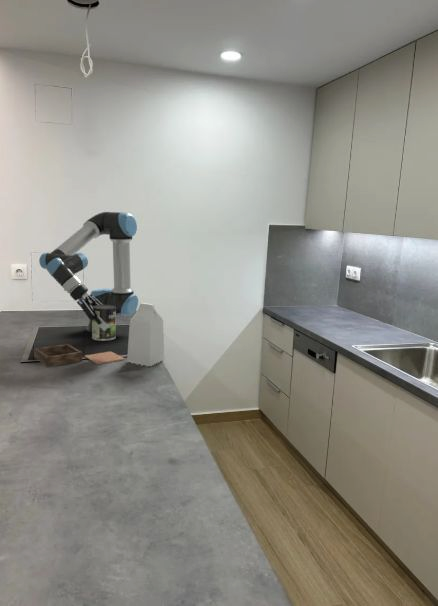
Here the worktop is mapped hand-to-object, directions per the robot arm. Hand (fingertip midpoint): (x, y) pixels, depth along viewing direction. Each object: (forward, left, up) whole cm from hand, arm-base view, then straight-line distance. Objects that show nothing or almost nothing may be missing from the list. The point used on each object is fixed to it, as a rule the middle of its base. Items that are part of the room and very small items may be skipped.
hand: (110, 326), depth 203 cm
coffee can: (+2, -2, -6) cm, 6 cm away
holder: (+19, -11, -15) cm, 27 cm away
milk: (-12, +11, -15) cm, 22 cm away
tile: (+2, -2, -15) cm, 15 cm away
